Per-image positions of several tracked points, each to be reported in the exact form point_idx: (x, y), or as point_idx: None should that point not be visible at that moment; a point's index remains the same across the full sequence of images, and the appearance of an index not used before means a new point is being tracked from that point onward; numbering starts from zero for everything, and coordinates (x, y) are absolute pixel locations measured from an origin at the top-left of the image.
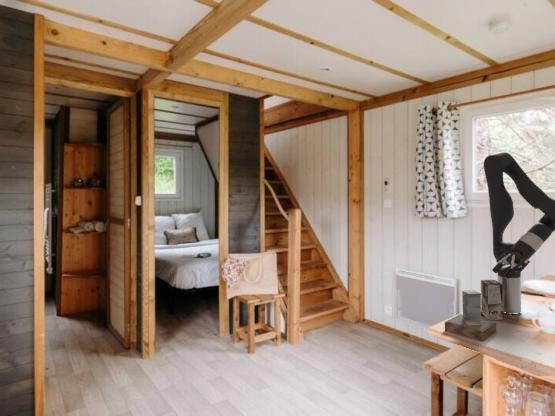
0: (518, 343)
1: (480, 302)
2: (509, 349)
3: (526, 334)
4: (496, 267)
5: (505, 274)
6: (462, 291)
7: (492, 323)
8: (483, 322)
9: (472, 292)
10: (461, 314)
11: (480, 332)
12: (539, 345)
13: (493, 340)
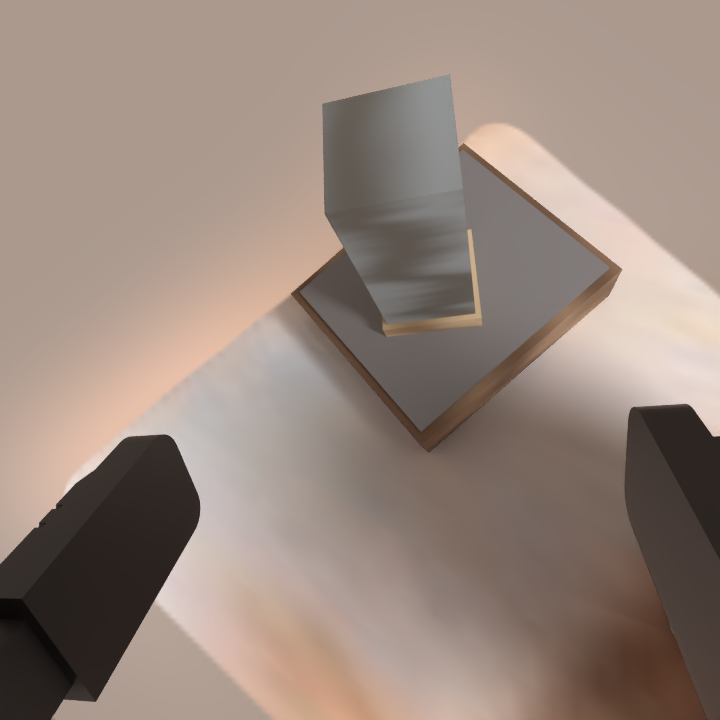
0: (262, 490)
1: (351, 257)
2: (207, 404)
3: (376, 627)
4: (680, 514)
5: (119, 444)
6: (446, 82)
7: (404, 411)
8: (427, 360)
9: (367, 148)
10: (600, 271)
11: (297, 291)
12: (223, 593)
13: (314, 377)
